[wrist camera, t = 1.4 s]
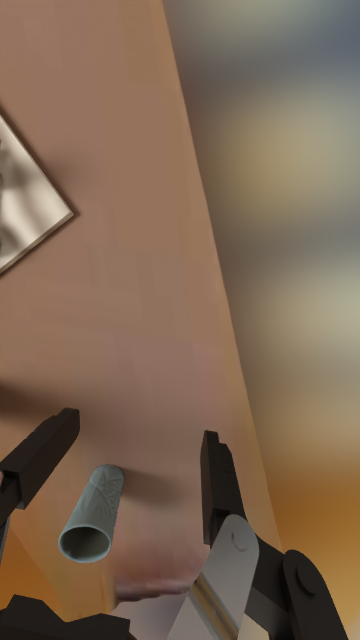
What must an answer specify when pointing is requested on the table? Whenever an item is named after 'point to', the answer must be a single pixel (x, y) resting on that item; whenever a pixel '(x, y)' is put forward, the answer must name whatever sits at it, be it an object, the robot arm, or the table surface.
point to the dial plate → (24, 200)
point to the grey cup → (93, 517)
